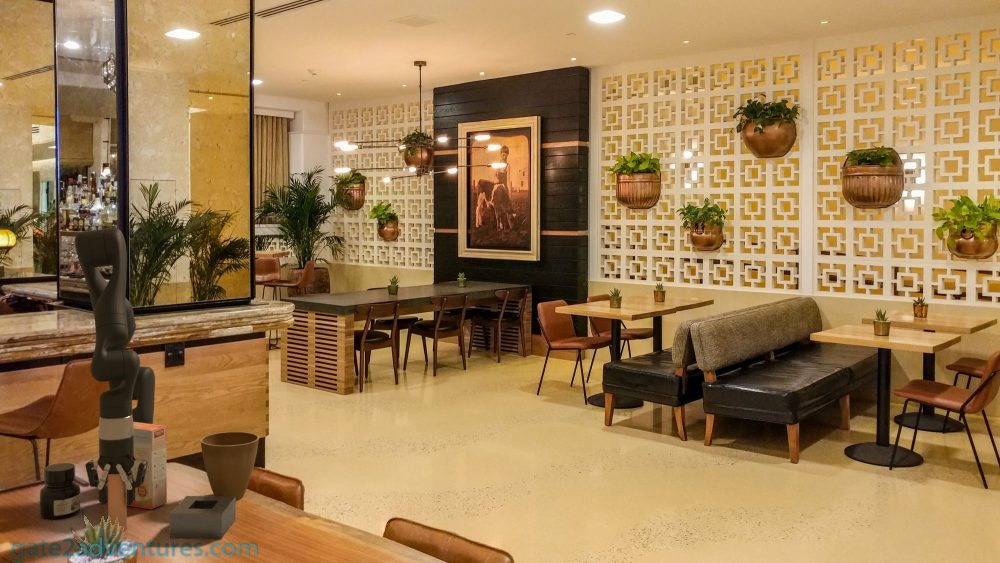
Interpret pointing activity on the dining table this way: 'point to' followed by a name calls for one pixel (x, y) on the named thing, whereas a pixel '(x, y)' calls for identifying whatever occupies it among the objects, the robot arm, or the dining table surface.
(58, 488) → the ink bottle
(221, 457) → the plant pot
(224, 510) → the socket
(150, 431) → the cracker box
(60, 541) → the dining table surface
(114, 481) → the peg
